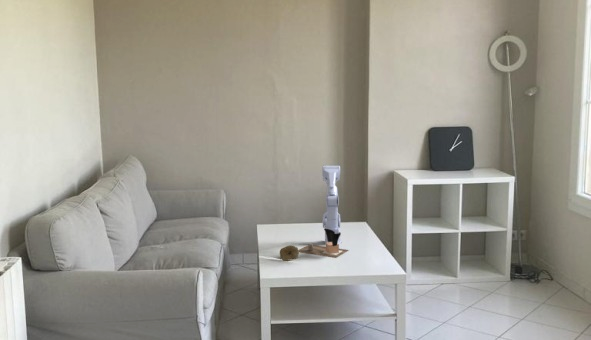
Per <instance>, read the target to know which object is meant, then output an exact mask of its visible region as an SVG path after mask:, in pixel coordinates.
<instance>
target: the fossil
mask: <svg viewBox="0 0 591 340" xmlns="http://www.w3.org/2000/svg"><path fill="white" fill-rule="evenodd" d="M299 254H300V252H299V248H298V247H297V246H294V245H286V246H284V247H282V248H280V250H279V256H280V259H281V260H282V261H283V262H290V261H292V260H296V259H297V258H298V257H299Z"/></svg>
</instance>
